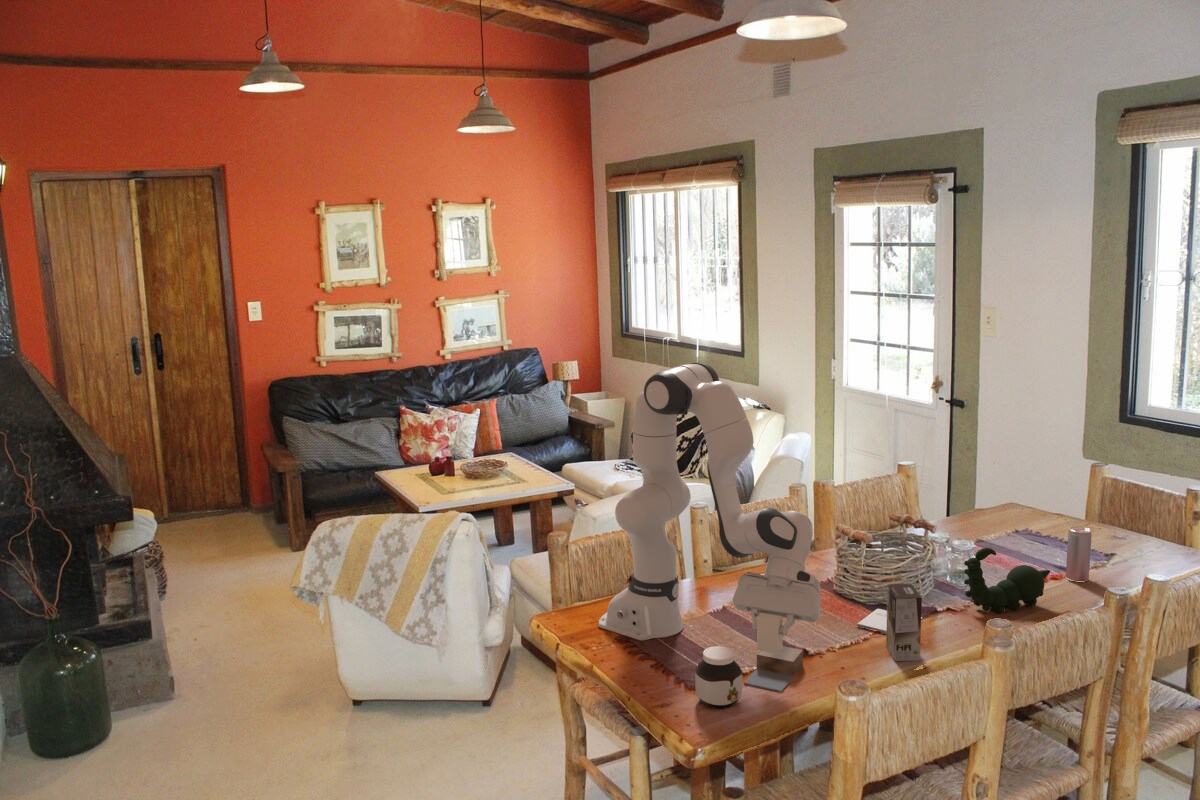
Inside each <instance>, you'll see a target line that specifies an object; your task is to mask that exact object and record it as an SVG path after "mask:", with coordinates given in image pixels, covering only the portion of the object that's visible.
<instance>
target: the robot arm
mask: <svg viewBox="0 0 1200 800" xmlns="http://www.w3.org/2000/svg"><path fill="white" fill-rule="evenodd" d="M634 407H635V408H634V413H633V421H632V423H633V424H632V460H633V463H634V465H635V466H636V467H638V468H639V469H640V471H641V474H642V479H643V480H642V486H640V487H637V488H635V489H633V490H630V491H628V493H626V494H625V495H624V496H623V497H622V498H621V499H620V500H619V501H618V502H617V504H616V506H615V510H614V515H615V520H616V522H617V524H618V526H619V527H620V528H621V529H622V530H623V531H624V532H626V533H627V535H628V538H629V540H630V543H631V546H632V555H633V558H632V559H633V571H632V573H631V574H629V576H628V577H627V578H626V579H625V580H624V581H625V584H626V585H627V584H628V586H627V587H626V588H625V589H623V590H621V591H620V592H619V593H618V594H616V595H615V596H614V597H612V599H611V600H610V601H609V602H608V606H607V610H606V612H605V613H604V614H603V615H601V617H600V618H599V620H598V627H599V628H601V629H604V630H608V631H610V632H613V633H616V634H620V635H622V636H625V637H629V638H632V639H635V640H638V641H646V640H650V639H659V638H667V637H671V636H674V635H677V634H678V633H680V632H681V631H683V629H684V622H683V619H682V615H681V612H680V605H679V599H678V598H679V591H680V590H679V575H678V574H677V549H676V546H675V544H674V543H673V541H671V540H669V538H668V535H667V532H666V524H667V523H668V522H669V521H672V520H673V519H675V518H677V517H679V516H680V515H681V514H682V513H683V512H684V511H685V510H686V509H687V507H688V506H689V505H690V502H691V499H692V498H691V491H690V488H689V485H688V484H687V483H686V481H684V480H683V479H682V478H681V475H680V471H679V467H678V462H677V461H678V460H677V429H678V428H677V421H678V420H677V419H678V415H685V414H686V413H687V412H689V413H692V414H693V415H695V417H696V418H697V420H698V422H699V424H700V427H701V430H702V433H703V435H704V438H705V443H706V446H707V447H706V448H707V455H708V456H707V457H708V458H707V462H706V469H707V475H708V480H709V484H710V489H711V493H712V496H713V501H714V506H715V509H716V513H717V519H718V531H719V540H720V542H721V545H722V547H723V548H724V550H725V551H726V552H727V553H728V554H729V555H731V556H732V557H734V558H739V559H743V558H747V557H750V556H751V555H754V554H758V553H763V552H764V553H766V554H768V559H767V563H766V565H765V566H766V567H765V570H764V573H757V572H752V571H751V572H750V571H748V572H746V573H742V574H741V575H740V576H739V579H738V582H737V587H736V589H735V592H734V594H733V598H732V603H733V605H734V606H735V608H736V609H737V610H741V611H746V612H750V615H751V618H752V621H753V622H752V625H751V629H752V630H753V631H756V632H757V617H758V616H759V615H760V614H761V613H766V614H772V615H778V616H782V618H786V620H787V621H786V622H785V623H784V624H782V625H780V627H779V628H780V629H779V634H780V635H782V636H785V637H786V636H787V634H788V630H789V629H790V628H791V627H792V626H794V624H795V622H796V620H798V621H805V622H809V623H815V622H817V621H818V620H819V617H820V615H821V614H820V613H821V607H822V606H821V605H822V604H821V603H822V599H821V597H820V595H819V594H820V593H821V591H822V588H821V584H820V582H819V580H818V579H817V577H816V576H815V575H814V574H812V573H809V572H808V571H806V569H805V568H806V567H805V563H806V560H807V558H808V557H809V554H810V549H811V546H812V541H813V534H814V532H813V530H814V528H813V523H812V521H811V519H810V518H809V517H808V516H807V515H805V514H804V513H803V512H800V511H797V510H786V511H779V510H777V509H775V508H772V507H766V508H761V509H758V510H757V509H756V510H753V511H750V512H747V513H744V511H743V509H742V506H741V502H740V498H739V494H738V489H737V486H736V474H737V471H738V469H739V468H740V466H741V464H743V462H744V461H745V460H746V459H747V458H748V456H749V455H750V453H751V451H752V449H753V446H754V443H755V442H754V434H753V430H752V428H751V425H750V422H749V419H748V416H747V414H746V411H745V410H744V407H743V405H742V403H741V401H740V399H739V396H738V395H737V394H736V392H735V390H734V388H733V387H732V386H731V385H730V384H729V383H728V382H726V381H722V380H720V378H719V375H718V372H717V371H716V370H715V369H714V368H713V367H712V366H710V365H708V364H706V363H704V362H693V363H687V364H680V365H676V366H674V367H671V368H668V369H665V370H661V371H658V372H656V373H655V374H653V375H652V376H650V377H649V378H648V379H647V380H646V382H645V384H644V387H643V390H642V391H641V392H640V393H639V394H638V396H637V397H636V402H635V406H634Z"/></svg>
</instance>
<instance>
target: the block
mask: <svg viewBox="0 0 1200 800" xmlns="http://www.w3.org/2000/svg"><path fill="white" fill-rule="evenodd" d="M756 618H757V631H756V646H757V647H756V649H757V651H758V652H759V651H765V652H770V653H775V654H778V653H779V652H780V651H781V650H782V646H783V635H780V634H779V629H780V628H779V627H780V625H783V617H782V616H778V615H772V614H766V613H760V614H759V616H758V617H757V616H756Z"/></svg>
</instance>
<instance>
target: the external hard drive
mask: <svg viewBox="0 0 1200 800" xmlns="http://www.w3.org/2000/svg"><path fill="white" fill-rule="evenodd" d="M857 626H858V627H862V628H863V627H864V628H868V629H874V630H877V631H880V632H881V633H880V634H882V635H887V609H886V610H885V609H881V608H876V609H875V610H873V611H872V612H871V613H870V614H868V615H867V616H866V617H864V618H863V619H862V620H860V621H859V622H858V623H856V627H857ZM858 627H857V628H858ZM862 628H861V629H862Z"/></svg>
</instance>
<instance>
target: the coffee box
mask: <svg viewBox="0 0 1200 800" xmlns="http://www.w3.org/2000/svg"><path fill="white" fill-rule="evenodd" d="M886 594H887V596H886V611H887V635H886V634H885V635H886V636H885V637H886V639H885V640H886V641H885V642H886V643H885V647H886V648H887V650H888V652H889V654H890V655H891V657H892V659H893V660H894V662H912V661H913V662H914V661H915V662H919V661H920V660H921V638H922V634H921V632H922V608H923V607H922V606H923V604H922V603H923V601H922V599H923V598H922V596H921V595H920V593H919V592H918V590H917V589H916V588H915V586H914V585H913V584H909V583H907V584H905V583H904V584H887V593H886Z"/></svg>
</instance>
